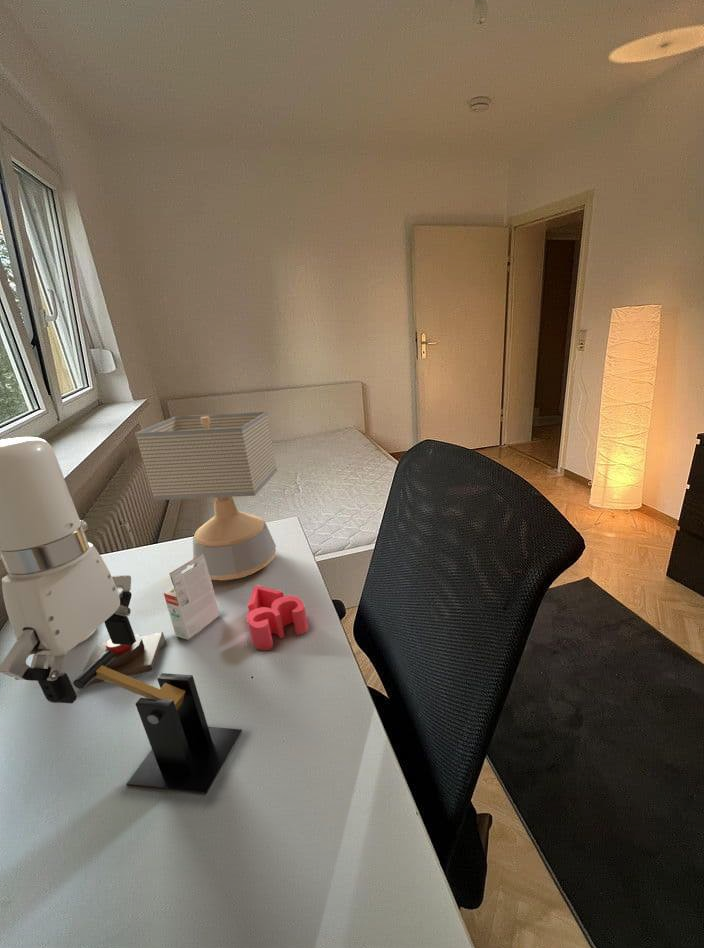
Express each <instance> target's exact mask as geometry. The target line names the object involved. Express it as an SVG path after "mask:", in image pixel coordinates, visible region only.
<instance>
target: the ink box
mask: <svg viewBox="0 0 704 948" xmlns="http://www.w3.org/2000/svg"><path fill="white" fill-rule="evenodd" d="M194 563H196V565H195V566H194V565H193V564H194ZM189 566H193V567H192V568H190V569H188V570H187V571H185V572H183V571H184V570H186V569H187V568H188V567H189ZM182 572H183V573H182ZM169 577H170V580H171V583H172V586H173V587H171V588H170V589H167V590H166V591H165V592H164V593H163V597H164V600H165V604H166V607H167V610H168V613H169V614H168V615H169V617H170V620H171V624H172V627H173V631H174V634H175V636H176V637H178V638H180V639H183V640H186V641H189V640H190V639H192V638H194V637H195V636H196V635H197V634H199V633H200V632H201V631H202V630H203V629H205V628H207V626H209V625H210V624H212V623H213V622H214V621H215V620H217V618H219V617H220V616H221V613H220V610H219V607H218V603H217V598H216V594H215V591H214V587H213V582H212V579H211V578H210V575H209V572H208V569H207V565H206V561H205V557H204V554H201V555H199V556H198V557H196V558H194V559H193V558H192V559H191V560H189V561H188V562H186V563H184V564H183V565H181V566H179V567H178V568H176V569H174V570H173V571H171V572H169Z"/></svg>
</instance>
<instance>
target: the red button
mask: <svg viewBox="0 0 704 948" xmlns="http://www.w3.org/2000/svg"><path fill="white" fill-rule="evenodd" d="M105 643H106V648H107V651H110V652H112V653H113V654H114V655H115V654H120V653H122V652H124V651H126V650H128V649H129V648H130V647H131V646H132V645H122V644H113V643H112V641H111V638H110V637H109V639H107V640H106V642H105Z"/></svg>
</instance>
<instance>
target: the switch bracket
mask: <svg viewBox="0 0 704 948" xmlns="http://www.w3.org/2000/svg"><path fill="white" fill-rule="evenodd" d="M156 680H157V683H158V685H159V689H160V688H161V687H162V686H163V685H164V684H165V683H167V684H169V685H172V686H174V687H177V688H179V689H182V690H184V691H185V695H184V699H183V703H182V704H181V706H180V707H179V708H178V710H176V707H175V704H174V701H173V700H167V699H153V698H145V697H140V698H138V700H137V701H136V702H135V707H136V710H137V713H138V715H139V718H140V720H141V723H142V726H143V729H144V731H145V734H146V736H147V739H148V742H149V745H150V747H151V750H150V752H149V753H148V754H147V755H146V756H145V758H144V760H143V761H142V762H141V763H140V765H139V766H138V767H137V769H136V770H135V772H134V773H133V774H132V776H131V777H130V778H129V780H128V781H127V783H126V786H129V787H130V786H131V787H141V788H151V789H158V790H167V791H176V792H177V791H178V792H186V793H194V794H195V793H196V794H202V795H207V794H208V793H209V791H210V789H211V787H212V786H213V783H214V781H215V780H216V778H217V776H218V774H219V773H220V771H221V769H222V767H223V766H224V764H225V762H226V760H227V759H228V756H229V754H230V753H231V751H232V749H233V748H234V746H235V744H236V742H237V740H238V739H239V737H240V735H241V733H242V731H243V730H242V729H241V728H240V729H239V728H229V727H228V728H226V727H217V726H209V725H208V722H207V719H206V715H205V713H204V712H205V711H204V708H203V705H202V702H201V698H200V695H199V692H198V689H197V685H196V683H195V678H194V676H193V674H182V673H181V674H179V673H168V672H167V673H166V672H165V673H164V672H162V673H160V675H158V677H157V679H156Z"/></svg>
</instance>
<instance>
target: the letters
mask: <svg viewBox="0 0 704 948" xmlns="http://www.w3.org/2000/svg"><path fill="white" fill-rule="evenodd" d="M247 609H248V613H247V615H246V620H247V625H248V629H249V633H250V639H251V642H252V644H253V647H255V648H256V649H257V650H258V651H268V650H270V649H271V648H273V646H274V641H273V636H272V634H273V635H277V636H278V637H279V639H282V638H284V637H285V632H284V627H285V626H287V625H290V624H292V623H293V624H294V630H295V631H294V632H295V634H297V635H302V634H305V633H307V631H308V629H309V626H308V620H307V619H308V618H307V615H306V608H305V603H304V602H303V600H302V599H301V598H299V597H297V596H295V595H284V591H282V590H277V589H274V588H270V587H266V586H263V585H262V586H261V585H257V584H256V585H254V586H253V588H252V591H251V594H250V597H249V601H248V604H247Z"/></svg>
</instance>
